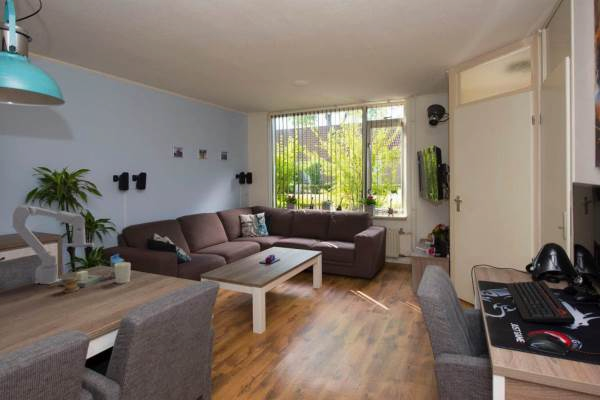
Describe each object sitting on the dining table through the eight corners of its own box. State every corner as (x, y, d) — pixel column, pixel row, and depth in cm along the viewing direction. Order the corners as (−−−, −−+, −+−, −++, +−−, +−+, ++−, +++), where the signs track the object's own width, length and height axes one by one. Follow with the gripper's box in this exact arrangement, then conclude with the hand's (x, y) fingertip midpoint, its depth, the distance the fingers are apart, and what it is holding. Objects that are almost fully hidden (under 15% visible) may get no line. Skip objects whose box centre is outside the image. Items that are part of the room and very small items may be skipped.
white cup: (126, 284, 187) (125, 266, 186) (111, 283, 187) (111, 265, 186) (133, 279, 195) (133, 262, 194) (119, 279, 195) (119, 262, 194)
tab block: (76, 284, 185) (75, 273, 185) (83, 281, 190) (83, 270, 190) (81, 284, 185) (81, 273, 185) (88, 281, 190) (87, 270, 189)
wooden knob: (59, 292, 172) (58, 280, 172) (70, 287, 179) (70, 276, 179) (71, 293, 171) (71, 281, 171) (82, 288, 178) (82, 277, 178)
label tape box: (117, 277, 198) (117, 256, 197) (110, 277, 198) (110, 256, 197) (125, 273, 206) (125, 253, 205) (118, 273, 206) (118, 253, 206)
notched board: (61, 285, 182) (61, 281, 182) (81, 277, 196) (81, 274, 196) (85, 287, 181) (85, 283, 180) (104, 279, 194) (103, 275, 194)
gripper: (61, 237, 190) (63, 261, 191) (89, 237, 192) (90, 261, 193) (68, 235, 197) (69, 258, 198) (95, 234, 199) (96, 257, 200)
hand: (80, 259), depth 196 cm, fingers open, 7 cm apart
